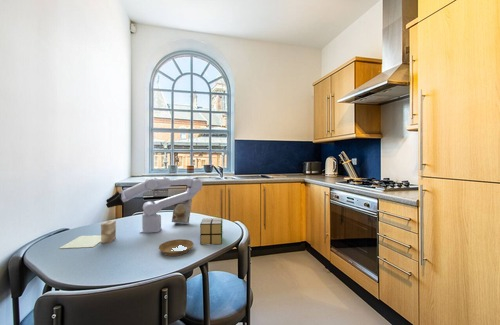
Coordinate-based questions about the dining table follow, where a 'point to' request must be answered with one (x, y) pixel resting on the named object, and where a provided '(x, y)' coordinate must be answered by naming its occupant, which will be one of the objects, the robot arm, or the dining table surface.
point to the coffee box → (182, 212)
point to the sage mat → (83, 242)
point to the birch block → (108, 231)
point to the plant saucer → (168, 246)
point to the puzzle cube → (211, 231)
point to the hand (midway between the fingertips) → (106, 204)
